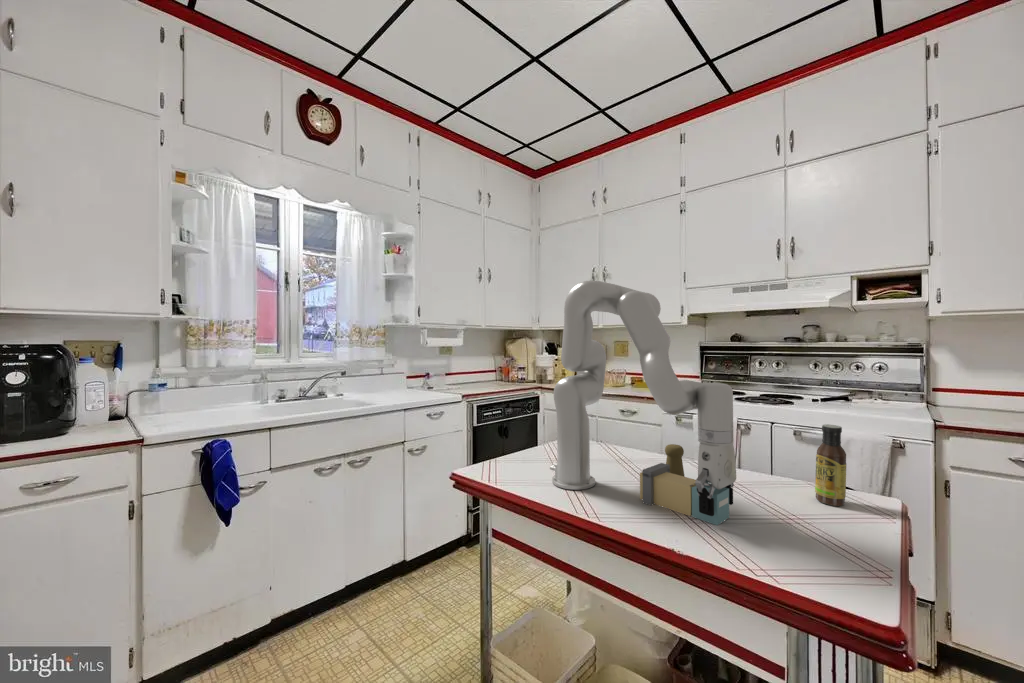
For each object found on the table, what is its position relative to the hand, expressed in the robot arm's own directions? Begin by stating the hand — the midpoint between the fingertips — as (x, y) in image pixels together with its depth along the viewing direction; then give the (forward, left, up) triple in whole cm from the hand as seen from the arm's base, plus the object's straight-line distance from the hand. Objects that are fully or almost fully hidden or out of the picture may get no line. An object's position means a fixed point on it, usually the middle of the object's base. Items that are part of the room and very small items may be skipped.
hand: (716, 508), depth 99 cm
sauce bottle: (+14, +32, -3) cm, 35 cm away
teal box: (-1, 0, -3) cm, 3 cm away
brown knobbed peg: (-20, +16, -3) cm, 26 cm away
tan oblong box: (-12, 0, -3) cm, 12 cm away
